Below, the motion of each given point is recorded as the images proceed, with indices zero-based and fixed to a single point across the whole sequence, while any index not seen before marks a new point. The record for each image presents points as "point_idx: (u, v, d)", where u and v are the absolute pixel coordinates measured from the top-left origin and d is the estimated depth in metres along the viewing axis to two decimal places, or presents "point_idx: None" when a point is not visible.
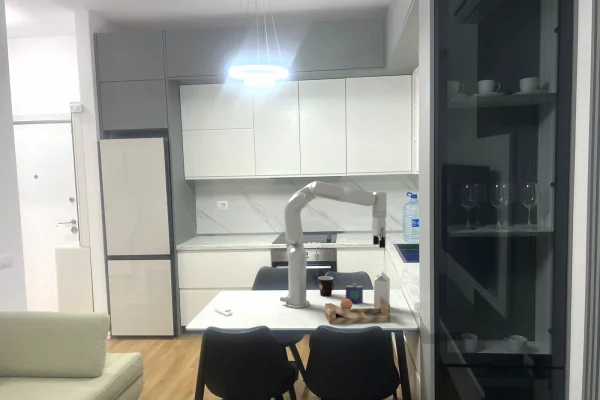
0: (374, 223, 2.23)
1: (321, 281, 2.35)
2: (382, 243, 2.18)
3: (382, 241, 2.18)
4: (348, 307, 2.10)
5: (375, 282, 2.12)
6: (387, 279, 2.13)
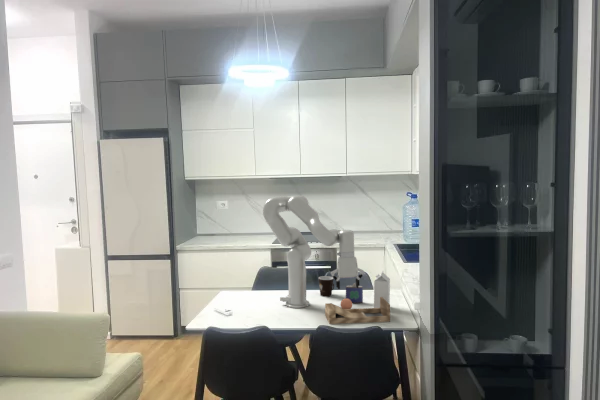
0: (349, 264, 2.08)
1: (321, 281, 2.35)
2: None
3: None
4: (348, 307, 2.10)
5: (375, 282, 2.12)
6: (387, 279, 2.13)
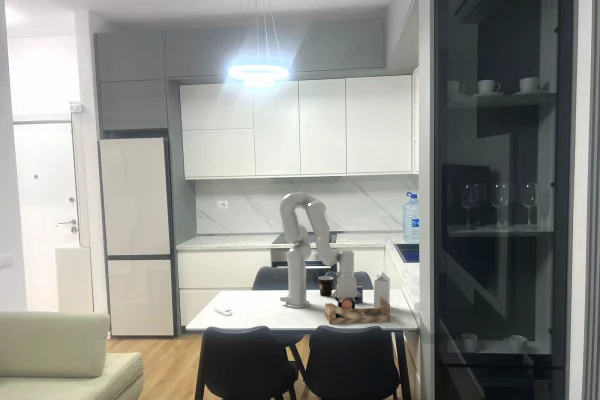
0: (348, 285, 2.09)
1: (321, 281, 2.35)
2: None
3: None
4: (348, 307, 2.10)
5: (375, 282, 2.12)
6: (387, 279, 2.13)
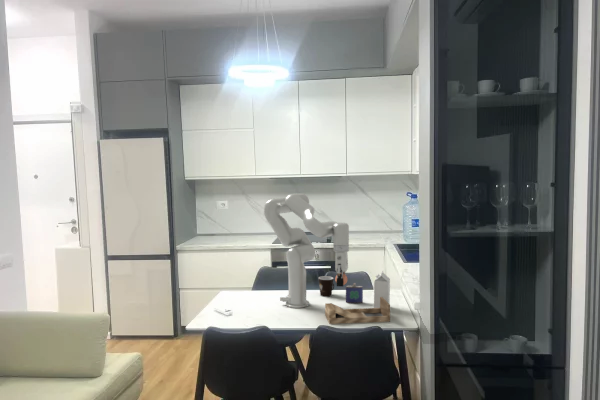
0: (346, 257, 2.03)
1: (321, 281, 2.35)
2: None
3: None
4: None
5: (375, 282, 2.12)
6: (387, 279, 2.13)
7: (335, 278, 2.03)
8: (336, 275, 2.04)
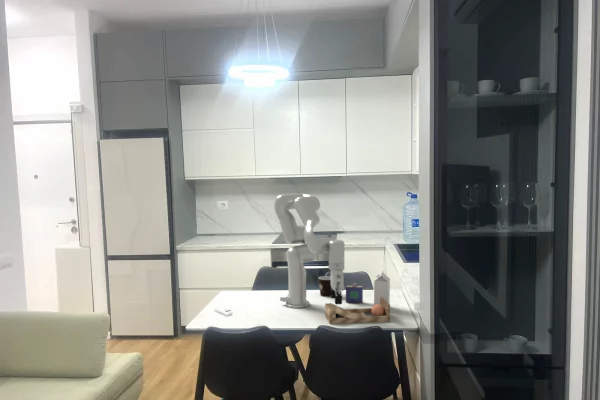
0: None
1: (321, 281, 2.35)
2: None
3: None
4: None
5: (375, 282, 2.12)
6: (387, 279, 2.13)
7: (380, 306, 2.00)
8: None
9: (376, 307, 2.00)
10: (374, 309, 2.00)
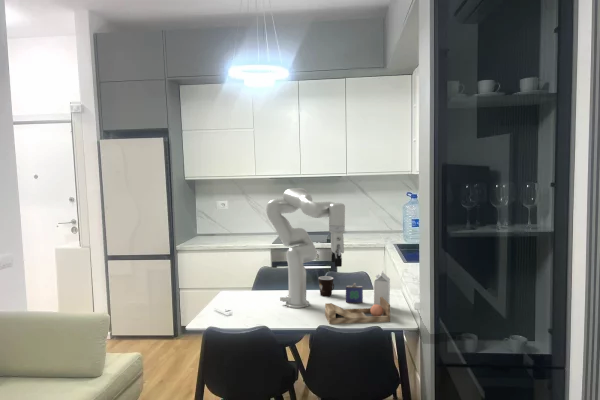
0: None
1: (321, 281, 2.35)
2: None
3: None
4: None
5: (375, 282, 2.12)
6: (387, 279, 2.13)
7: (378, 305, 2.00)
8: None
9: (374, 308, 2.00)
10: (372, 310, 2.00)
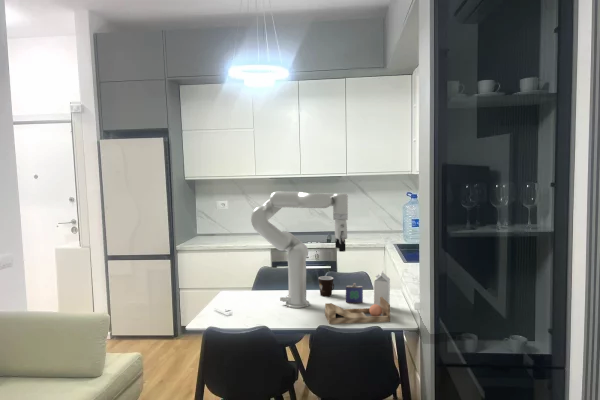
0: None
1: (321, 281, 2.35)
2: None
3: None
4: None
5: (375, 282, 2.12)
6: (387, 279, 2.13)
7: (376, 305, 2.00)
8: (378, 305, 2.01)
9: (372, 308, 2.00)
10: (371, 311, 2.00)
